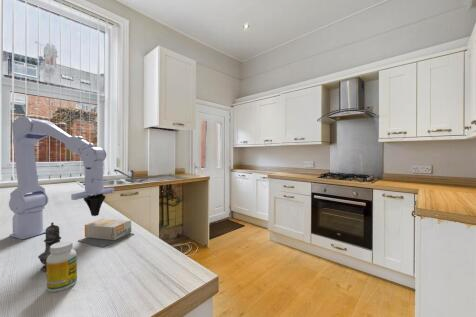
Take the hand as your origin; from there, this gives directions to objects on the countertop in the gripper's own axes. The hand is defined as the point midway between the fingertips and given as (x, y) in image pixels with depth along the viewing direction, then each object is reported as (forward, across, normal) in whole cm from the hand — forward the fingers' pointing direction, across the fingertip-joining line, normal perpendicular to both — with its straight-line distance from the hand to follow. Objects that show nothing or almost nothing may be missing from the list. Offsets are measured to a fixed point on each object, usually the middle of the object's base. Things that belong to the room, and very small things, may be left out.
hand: (94, 215), depth 79 cm
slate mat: (+7, 0, -7) cm, 10 cm away
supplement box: (+5, 0, +1) cm, 5 cm away
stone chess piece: (+8, -19, -12) cm, 24 cm away
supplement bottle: (+8, -23, -24) cm, 34 cm away
